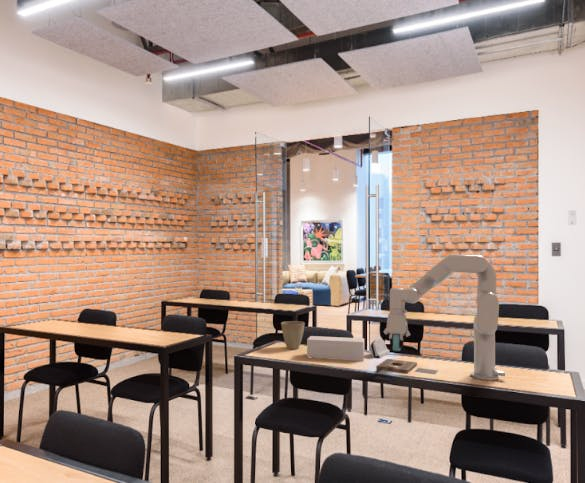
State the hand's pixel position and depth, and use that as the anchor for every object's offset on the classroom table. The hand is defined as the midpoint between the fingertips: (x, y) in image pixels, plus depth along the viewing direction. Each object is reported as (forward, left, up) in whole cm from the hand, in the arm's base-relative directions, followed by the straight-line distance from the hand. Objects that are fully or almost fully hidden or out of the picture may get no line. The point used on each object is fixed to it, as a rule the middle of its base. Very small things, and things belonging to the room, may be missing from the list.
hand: (396, 346), depth 235 cm
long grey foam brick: (+39, -10, -12) cm, 42 cm away
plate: (-15, 0, -12) cm, 19 cm away
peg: (0, 0, -2) cm, 2 cm away
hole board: (0, 0, -12) cm, 12 cm away
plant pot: (+72, -18, -12) cm, 75 cm away
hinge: (+19, -29, -12) cm, 37 cm away
